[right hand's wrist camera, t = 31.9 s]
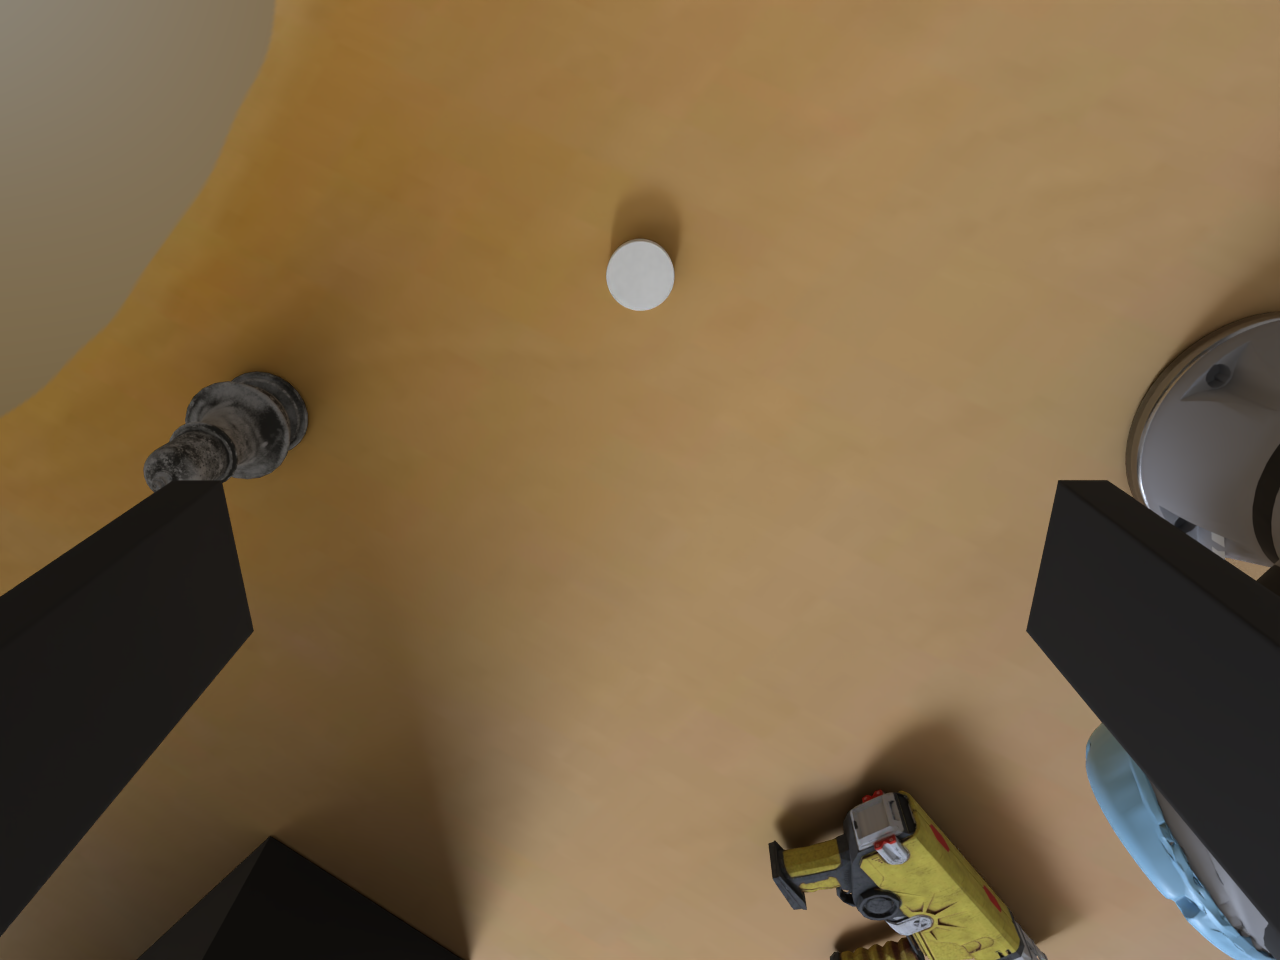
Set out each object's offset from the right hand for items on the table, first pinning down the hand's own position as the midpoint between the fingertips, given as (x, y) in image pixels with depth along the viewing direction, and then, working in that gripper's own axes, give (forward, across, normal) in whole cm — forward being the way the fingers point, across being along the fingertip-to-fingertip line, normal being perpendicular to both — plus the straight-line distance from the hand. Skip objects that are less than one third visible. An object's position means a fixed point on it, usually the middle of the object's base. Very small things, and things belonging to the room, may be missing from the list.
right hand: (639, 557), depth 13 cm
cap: (+34, 0, 0) cm, 34 cm away
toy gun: (+36, -20, +50) cm, 65 cm away
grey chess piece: (+36, +23, +8) cm, 43 cm away
